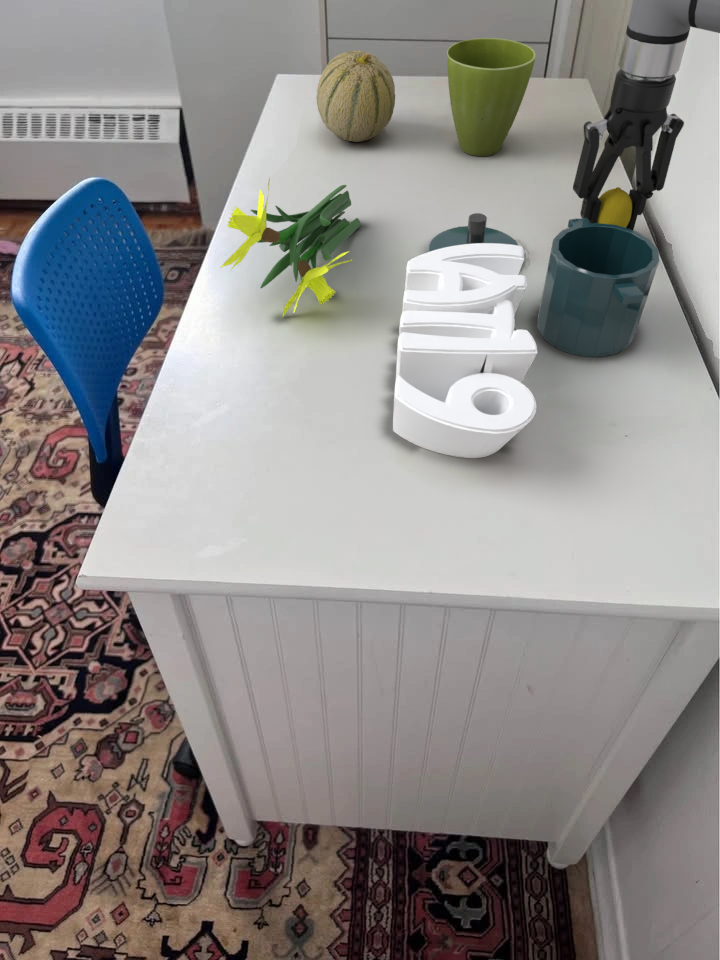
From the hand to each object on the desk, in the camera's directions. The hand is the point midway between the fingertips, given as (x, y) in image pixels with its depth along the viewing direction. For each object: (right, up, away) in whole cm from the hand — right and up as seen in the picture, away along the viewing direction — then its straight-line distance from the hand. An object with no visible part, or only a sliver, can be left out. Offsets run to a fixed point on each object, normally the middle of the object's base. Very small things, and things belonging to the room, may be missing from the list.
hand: (605, 236), depth 110 cm
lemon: (0, 0, 0) cm, 1 cm away
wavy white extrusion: (-26, -25, -21) cm, 41 cm away
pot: (-8, -17, -14) cm, 24 cm away
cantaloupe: (-39, +28, +27) cm, 55 cm away
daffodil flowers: (-46, -7, -4) cm, 46 cm away
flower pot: (-15, +24, +23) cm, 37 cm away
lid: (-21, -3, -3) cm, 21 cm away
